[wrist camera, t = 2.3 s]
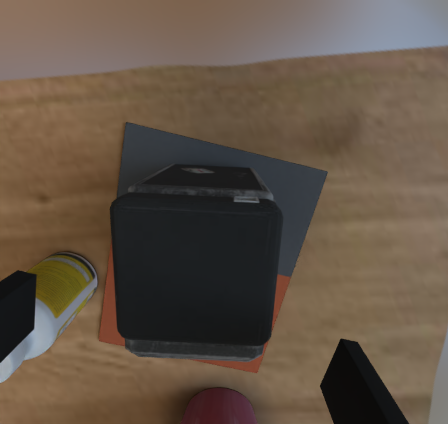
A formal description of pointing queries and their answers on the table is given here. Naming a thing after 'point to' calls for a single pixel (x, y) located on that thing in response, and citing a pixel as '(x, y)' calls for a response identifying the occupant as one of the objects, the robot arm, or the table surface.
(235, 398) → the flower pot
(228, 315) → the camera
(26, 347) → the pill bottle
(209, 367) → the table surface
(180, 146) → the desk mat
